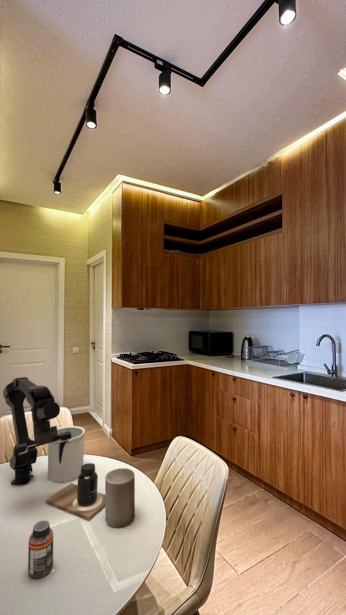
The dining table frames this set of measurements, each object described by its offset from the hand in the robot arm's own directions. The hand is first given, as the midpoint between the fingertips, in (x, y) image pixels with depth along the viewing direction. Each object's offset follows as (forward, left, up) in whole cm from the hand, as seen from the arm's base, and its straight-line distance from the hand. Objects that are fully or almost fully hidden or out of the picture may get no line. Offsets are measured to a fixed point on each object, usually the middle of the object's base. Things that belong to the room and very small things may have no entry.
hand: (46, 467), depth 103 cm
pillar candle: (+8, +27, -13) cm, 31 cm away
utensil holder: (-20, +1, -13) cm, 24 cm away
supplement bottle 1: (+27, +9, -13) cm, 31 cm away
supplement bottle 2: (+1, +15, -12) cm, 19 cm away
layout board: (-1, +11, -13) cm, 17 cm away
